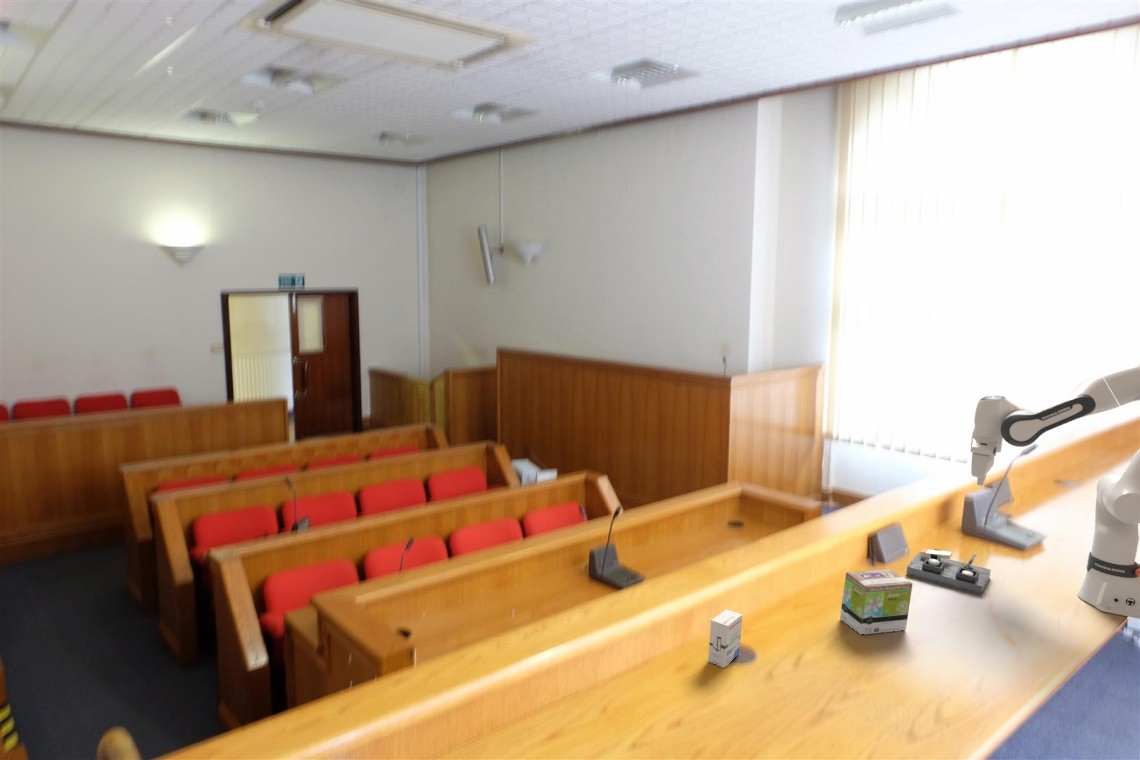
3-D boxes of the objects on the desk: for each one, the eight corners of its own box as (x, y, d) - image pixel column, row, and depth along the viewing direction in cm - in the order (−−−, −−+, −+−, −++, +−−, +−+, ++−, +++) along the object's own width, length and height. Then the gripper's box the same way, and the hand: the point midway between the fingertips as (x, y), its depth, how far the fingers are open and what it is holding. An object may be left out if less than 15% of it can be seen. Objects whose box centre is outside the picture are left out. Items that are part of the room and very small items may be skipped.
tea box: (861, 637, 209) (866, 586, 207) (839, 619, 219) (844, 571, 216) (907, 631, 213) (913, 582, 211) (883, 614, 223) (889, 566, 220)
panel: (989, 578, 250) (991, 561, 249) (981, 595, 237) (983, 578, 236) (917, 559, 263) (919, 543, 262) (906, 575, 250) (908, 558, 249)
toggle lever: (969, 566, 250) (977, 554, 248) (969, 567, 249) (977, 555, 247) (966, 564, 250) (974, 552, 248) (965, 565, 249) (973, 553, 248)
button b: (940, 564, 249) (940, 560, 248) (937, 567, 246) (938, 563, 246) (929, 561, 250) (929, 558, 250) (927, 564, 248) (927, 561, 248)
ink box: (722, 648, 201) (726, 607, 199) (740, 655, 198) (743, 613, 196) (706, 662, 194) (709, 619, 192) (724, 669, 191) (727, 626, 189)
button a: (973, 576, 243) (974, 572, 243) (971, 579, 240) (972, 575, 240) (962, 573, 245) (963, 569, 245) (960, 576, 242) (961, 573, 242)
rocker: (952, 558, 254) (951, 551, 254) (949, 562, 251) (949, 554, 251) (923, 555, 259) (922, 548, 259) (920, 559, 256) (920, 551, 256)
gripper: (981, 436, 261) (975, 475, 263) (970, 448, 245) (964, 489, 247) (1002, 439, 257) (996, 479, 260) (992, 452, 241) (986, 493, 244)
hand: (980, 484), depth 253 cm, fingers closed
